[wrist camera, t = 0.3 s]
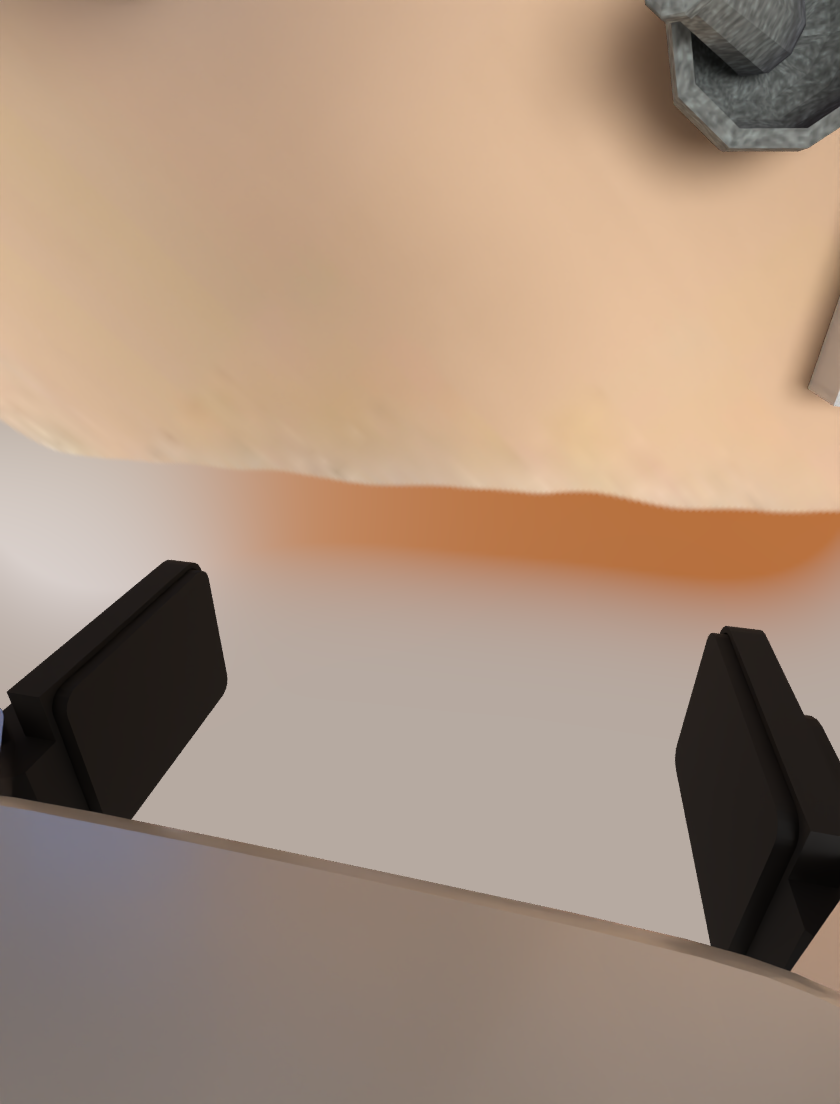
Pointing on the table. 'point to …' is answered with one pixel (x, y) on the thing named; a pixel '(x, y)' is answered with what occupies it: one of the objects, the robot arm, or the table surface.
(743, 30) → the mortar and pestle
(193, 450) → the table surface
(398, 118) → the table surface
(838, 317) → the tray
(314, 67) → the table surface
